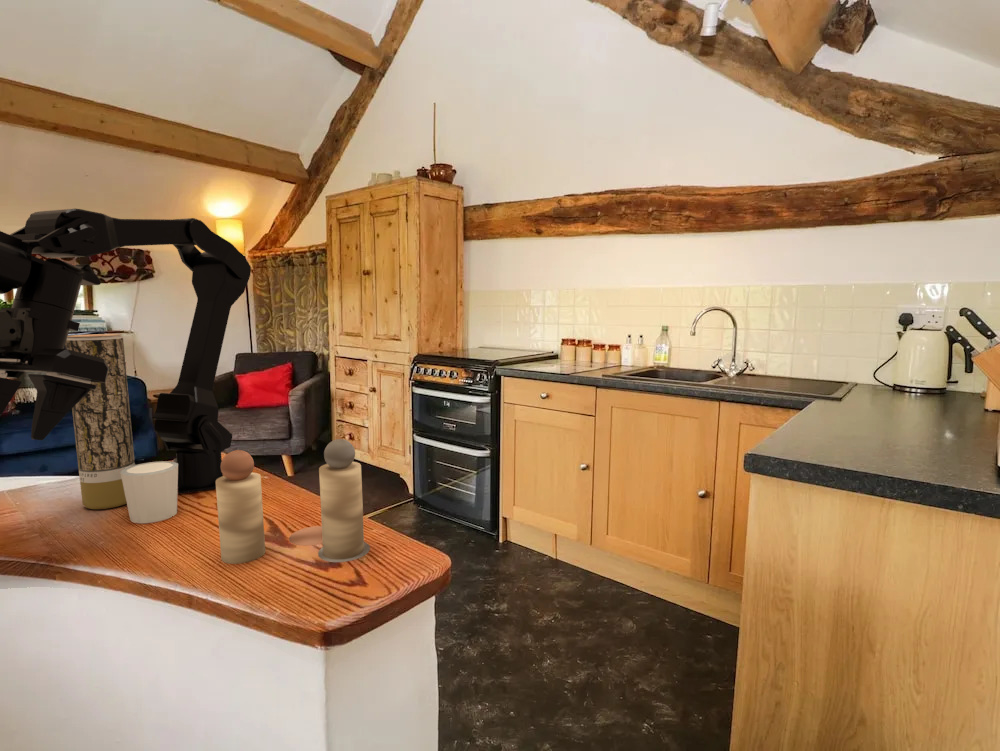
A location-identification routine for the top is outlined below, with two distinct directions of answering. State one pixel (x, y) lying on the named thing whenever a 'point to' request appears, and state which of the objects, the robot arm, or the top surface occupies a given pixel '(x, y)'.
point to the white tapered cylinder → (151, 491)
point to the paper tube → (103, 424)
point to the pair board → (318, 542)
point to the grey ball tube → (341, 502)
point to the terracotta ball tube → (240, 509)
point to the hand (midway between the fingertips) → (8, 436)
